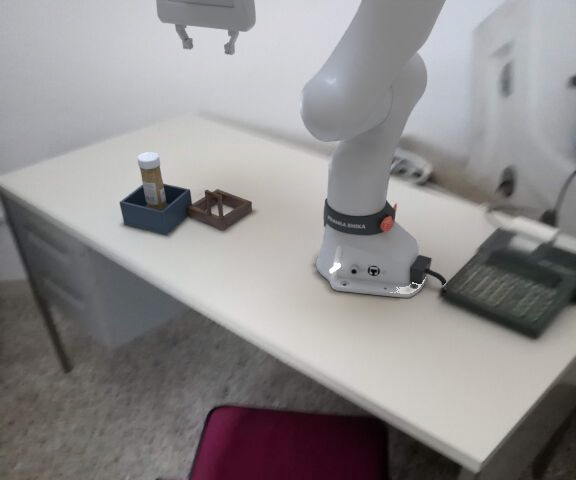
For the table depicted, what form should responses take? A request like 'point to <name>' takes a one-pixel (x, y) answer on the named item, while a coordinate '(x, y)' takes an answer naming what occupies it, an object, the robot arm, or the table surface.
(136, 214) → the open box
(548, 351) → the table surface
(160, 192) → the sprinkles bottle
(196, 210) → the rack
